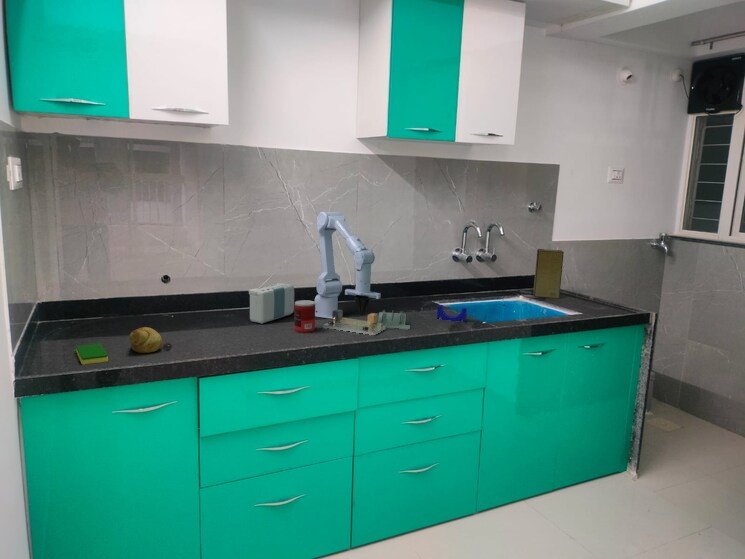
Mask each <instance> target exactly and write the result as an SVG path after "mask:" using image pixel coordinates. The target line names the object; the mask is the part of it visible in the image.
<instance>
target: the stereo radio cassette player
mask: <svg viewBox="0 0 745 559" xmlns="http://www.w3.org/2000/svg"><path fill="white" fill-rule="evenodd" d="M280 269H281V267H279V268H278V269H277V270H276V271H275V272H273V273H272V274H271V275H270V277H268V278H267V279H266V281H264V282H263V283H262V284H261V285H260V286H259V287H257V288H251V289H248V294H249V320H250V322H252V323H258V324H261V325H263V324H265V323H268V322H271V321H274V320H277V319H281V318H283V317H287V316H290V315H292V314H293V313H294V312H295V287H294V285H293V284H288V283H281V282H277V283H274V284H269V285H265V284H266V283H267V282H269V280H270V279H271V278H272V277H273V276H275V274H276V273H277V272H279V270H280Z"/></svg>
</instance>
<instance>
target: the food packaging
mask: <svg viewBox="0 0 745 559" xmlns="http://www.w3.org/2000/svg"><path fill="white" fill-rule="evenodd" d="M535 262H536V263H535V269H534V270H535V272H534V281H533V293H532V295H533V297H535V298H536V297H537V298H549V299H557V300H558V299H560V296H561V285H562V284H561V283H562V274H563V264H564V263H563V262H564V251H563V250H562V249H548V248H537V251H536V260H535Z"/></svg>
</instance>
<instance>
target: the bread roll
mask: <svg viewBox="0 0 745 559" xmlns="http://www.w3.org/2000/svg"><path fill="white" fill-rule="evenodd" d="M129 340H130V347H131V349H132V350H133V351H134V352H135V353H138V354H148V353H153V352H157V351H158V350H159V349H160V348H161V347H162V345H163V339H162V336H161V335H160V333H158V331H156V330H155V329H153V328H151V327H147V326H144V327H143V326H142V327H139V328H137V329H135V330H134V329H133V330H132V331H131V332H130V334H129Z"/></svg>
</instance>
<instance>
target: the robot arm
mask: <svg viewBox="0 0 745 559" xmlns="http://www.w3.org/2000/svg"><path fill="white" fill-rule="evenodd" d="M316 222H317V223H316V224H317V232H318V241H319V250H320V252H319V253H320V263H321V274H320V275H319V276H318V277H317V278H316V279H317V280H316V282H317V283H316V292H317V293H318V294H316V296H315V298H314V302H315V317H316V318H317V317H319V318H323V319H324V318H325V319H329V320H332V313H333V311H334V310H336V309H338V304H339V302H338V301H339V300H338V298H339V296H340V294H341V293H342V292H343V284H342V283H343V282H342V280H341V276H340V275H339V274H338V273H336V270H335V269H336V268H335V260H334V249H333V238H332V236H333V234H334V233H335V232H336V231H337V232H339V234H340V235H341V236H342V238H344V240H345V241H346V242H345V245H346V247H347V248H348V250H349V251H350V253H351V254H352V255H353V262H354V267H355V269H356V270H355V271H356V272H355V289H352V288H351V289H350V288H346V289H345V290H344V295H345V296H346V295H347V296H348V295H350V296H354V297H353V298H354V299H353V300H354V301H355V303H356V306H357V309H358V315H359V316H363V315H365V313H366V309H367V306H368V304H369V302H370V301H371V299H376V300H379V299H381V292H380V293H379V292H376V291H371V281H372V280H371V278H372V277H371V276H372V264H373V263H374V262H375V258H376V257H375V253H374V252H373V250H372V249H369V248H367V247H366V246H365V244H364V243H363V242H362V240H361V238H360V237H359V236H357V235H354V234H353V232H352V231H351V229H350V228H349V226H348V224H347V222H346V216H344V214H343V213H342V211H321V212H319V214H318V215H317V217H316Z"/></svg>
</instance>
